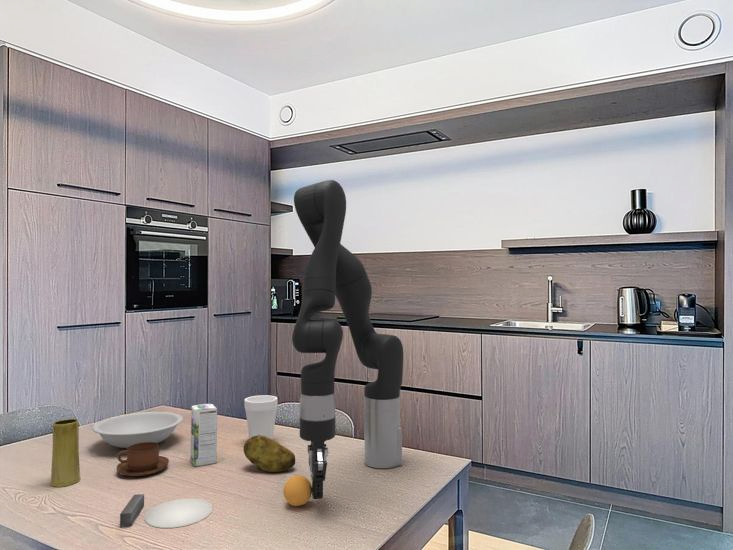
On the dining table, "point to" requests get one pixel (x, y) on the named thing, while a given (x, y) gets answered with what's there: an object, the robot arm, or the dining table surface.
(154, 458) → the cup and saucer
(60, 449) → the vase
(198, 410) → the syrup box
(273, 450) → the potato
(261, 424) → the foam cup
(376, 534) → the dining table surface
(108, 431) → the soup bowl
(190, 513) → the white flat disc
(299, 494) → the ball
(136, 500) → the strip
